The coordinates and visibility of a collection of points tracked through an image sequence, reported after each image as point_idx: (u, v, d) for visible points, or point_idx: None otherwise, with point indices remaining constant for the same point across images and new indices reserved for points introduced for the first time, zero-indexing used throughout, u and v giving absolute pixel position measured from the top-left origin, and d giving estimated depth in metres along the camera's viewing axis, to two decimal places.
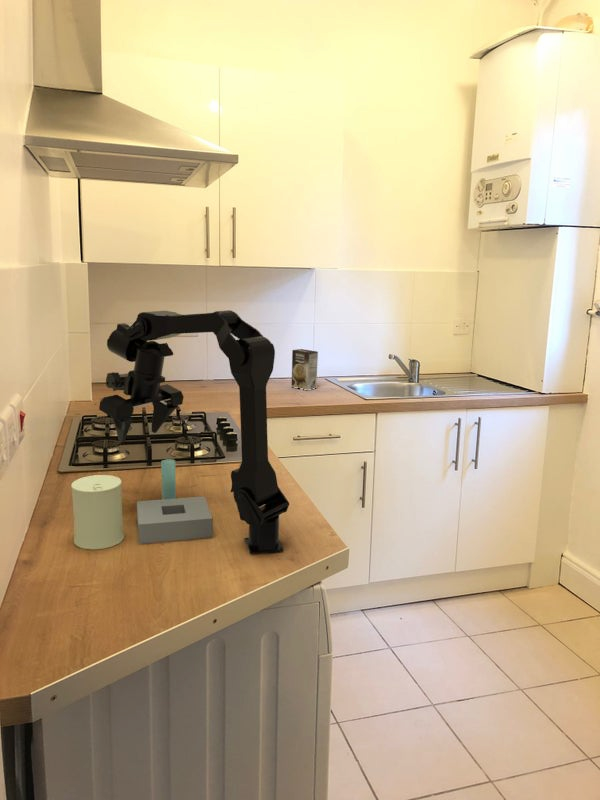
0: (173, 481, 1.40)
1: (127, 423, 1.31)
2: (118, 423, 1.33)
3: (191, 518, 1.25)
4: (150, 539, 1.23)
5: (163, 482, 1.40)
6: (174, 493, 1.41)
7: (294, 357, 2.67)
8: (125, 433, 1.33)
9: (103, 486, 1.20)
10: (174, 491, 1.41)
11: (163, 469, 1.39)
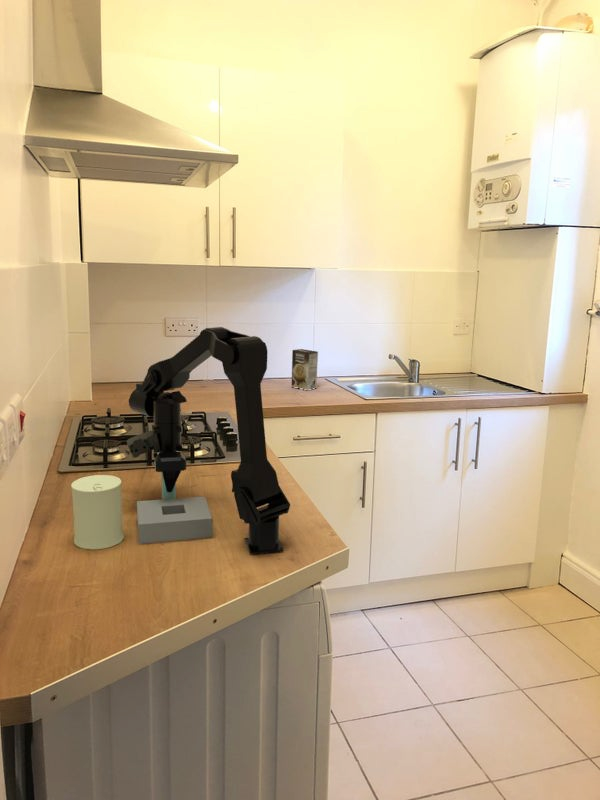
0: None
1: None
2: (168, 474, 1.38)
3: (191, 518, 1.25)
4: (150, 539, 1.23)
5: (163, 482, 1.40)
6: (174, 493, 1.41)
7: (294, 357, 2.67)
8: None
9: (103, 486, 1.20)
10: (174, 491, 1.41)
11: None
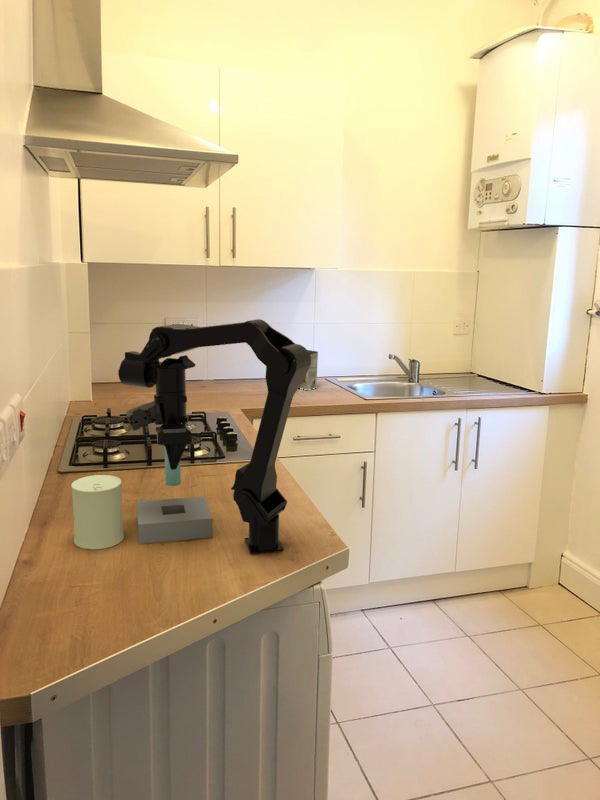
0: None
1: None
2: (171, 449, 1.24)
3: (191, 518, 1.25)
4: (150, 539, 1.23)
5: (166, 458, 1.27)
6: (179, 471, 1.28)
7: None
8: None
9: (103, 486, 1.20)
10: (179, 468, 1.28)
11: None
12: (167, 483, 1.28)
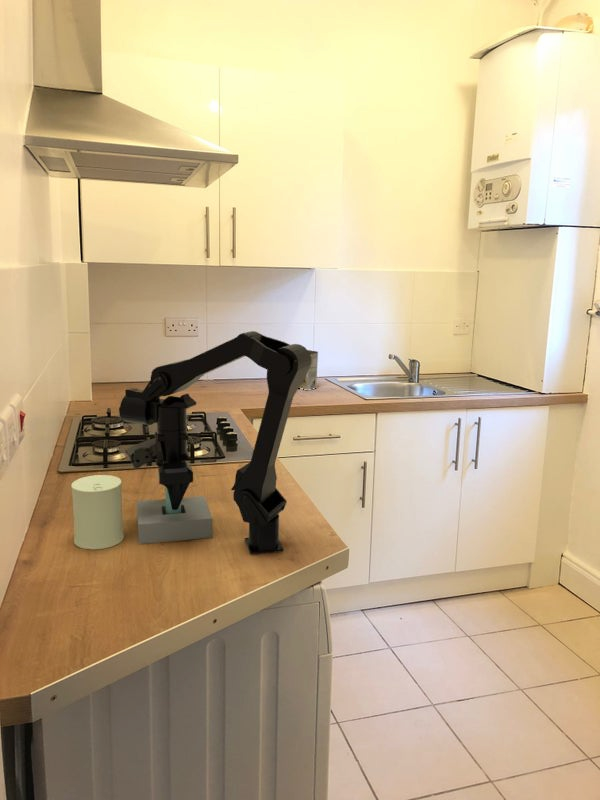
0: None
1: None
2: (173, 490, 1.23)
3: (191, 518, 1.25)
4: (150, 539, 1.23)
5: (167, 504, 1.28)
6: None
7: None
8: None
9: (103, 486, 1.20)
10: (179, 513, 1.29)
11: (167, 490, 1.27)
12: None
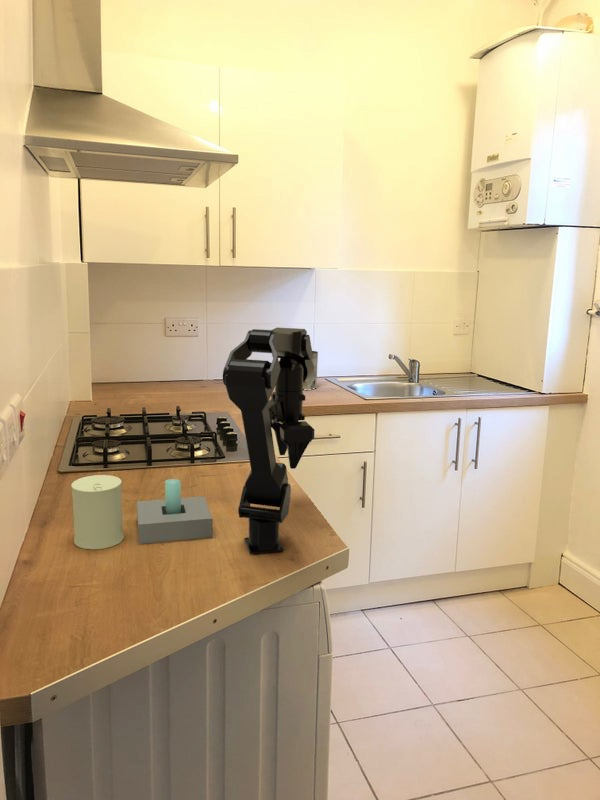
0: (178, 503, 1.28)
1: None
2: (293, 449, 1.29)
3: (191, 518, 1.25)
4: (150, 539, 1.23)
5: (167, 504, 1.28)
6: None
7: None
8: None
9: (103, 486, 1.20)
10: (179, 513, 1.29)
11: (167, 490, 1.27)
12: None
